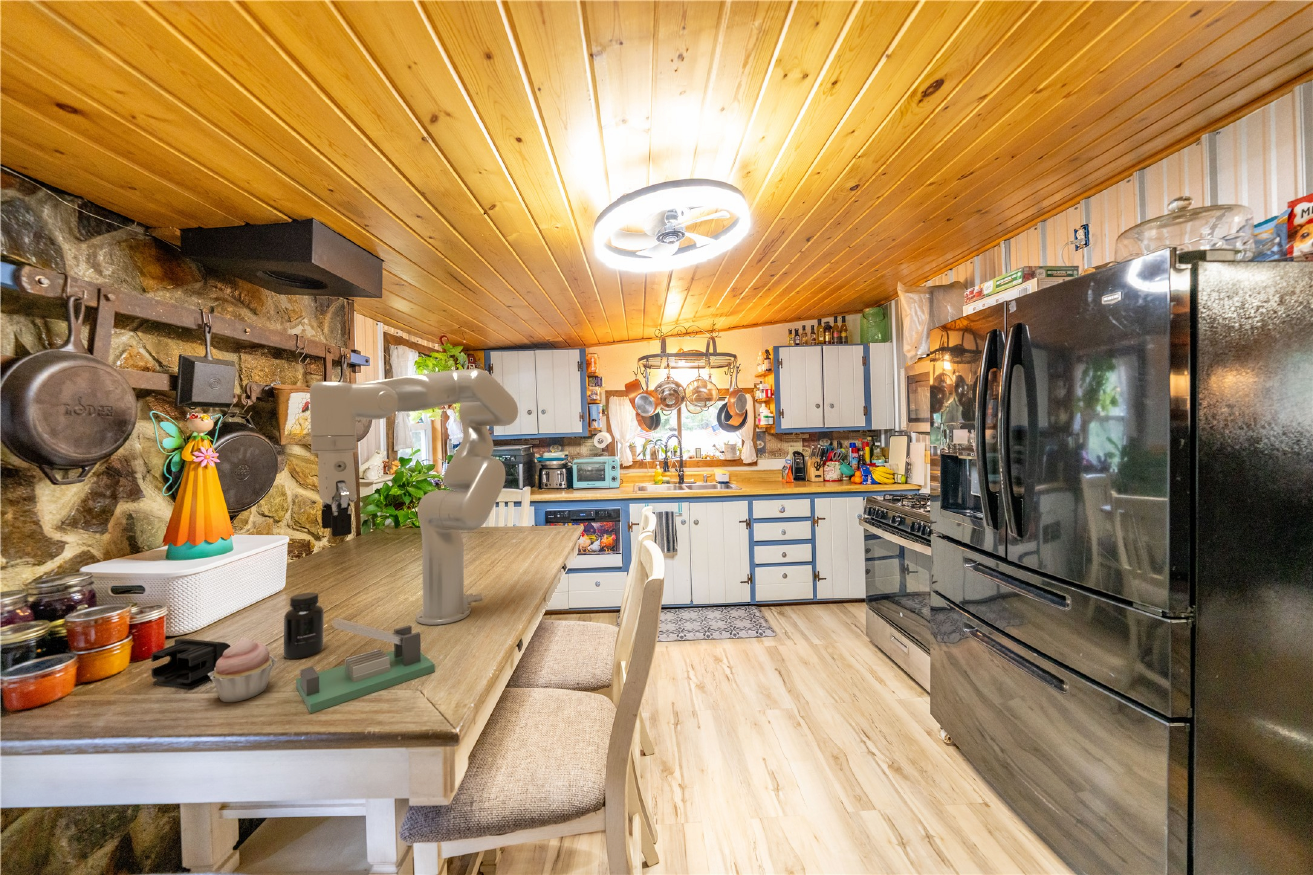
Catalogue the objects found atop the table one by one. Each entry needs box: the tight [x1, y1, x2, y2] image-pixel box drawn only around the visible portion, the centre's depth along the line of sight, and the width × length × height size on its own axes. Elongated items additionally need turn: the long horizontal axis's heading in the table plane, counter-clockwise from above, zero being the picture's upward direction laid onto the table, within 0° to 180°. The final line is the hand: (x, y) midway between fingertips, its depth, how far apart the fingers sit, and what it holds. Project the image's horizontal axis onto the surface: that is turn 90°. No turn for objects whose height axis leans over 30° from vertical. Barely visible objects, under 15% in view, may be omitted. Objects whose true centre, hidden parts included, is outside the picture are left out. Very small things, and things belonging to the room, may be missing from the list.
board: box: [295, 625, 436, 714], centre depth 93 cm, size 20×12×7 cm, turn 135°
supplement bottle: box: [283, 591, 325, 660], centre depth 104 cm, size 7×7×12 cm
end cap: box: [150, 637, 232, 691], centre depth 93 cm, size 10×7×7 cm
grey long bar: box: [331, 616, 405, 645], centre depth 93 cm, size 15×3×2 cm
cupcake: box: [208, 636, 278, 703], centre depth 88 cm, size 9×9×10 cm
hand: (336, 531), depth 98 cm, fingers open, 9 cm apart
